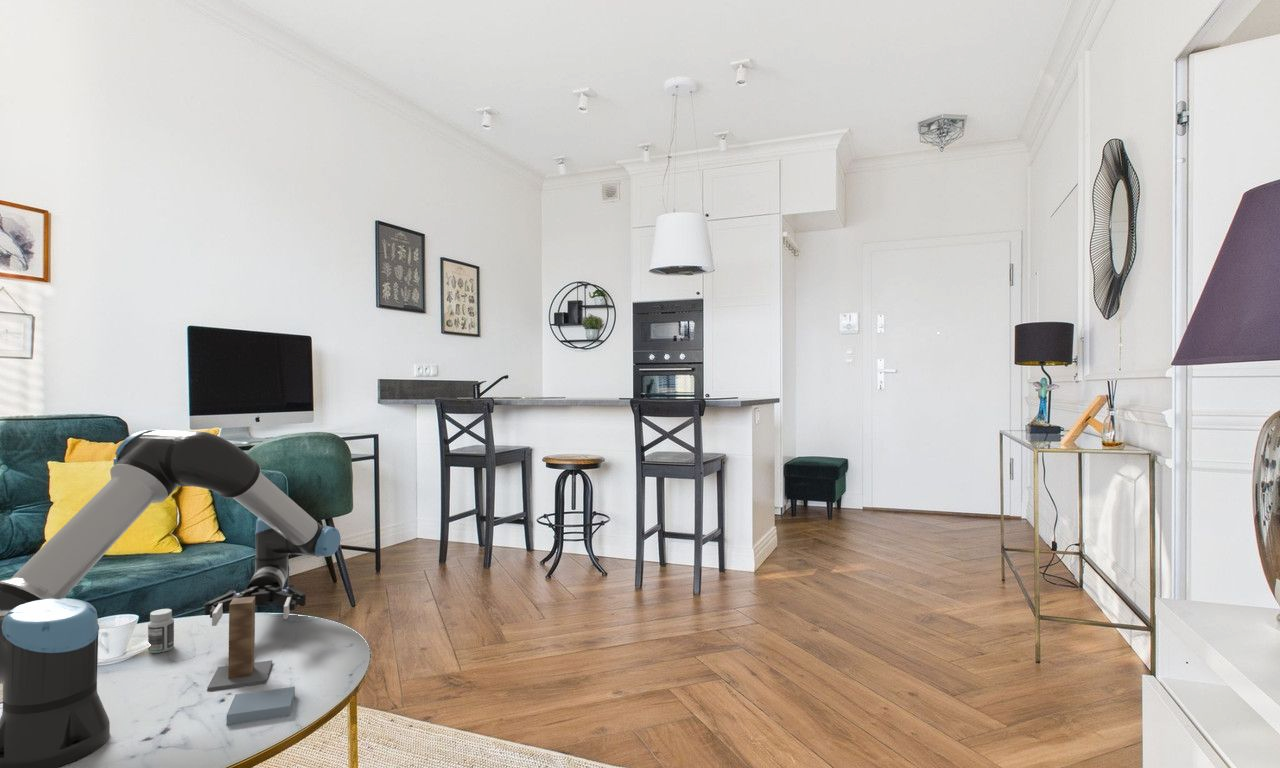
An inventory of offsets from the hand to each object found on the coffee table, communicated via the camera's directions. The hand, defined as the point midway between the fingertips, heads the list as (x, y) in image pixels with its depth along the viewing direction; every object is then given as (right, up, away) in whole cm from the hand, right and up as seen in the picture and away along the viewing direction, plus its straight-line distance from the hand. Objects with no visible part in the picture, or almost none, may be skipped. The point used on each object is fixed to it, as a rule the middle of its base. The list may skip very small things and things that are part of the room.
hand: (250, 616), depth 146 cm
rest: (+3, -9, -8) cm, 13 cm away
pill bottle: (-22, -9, +4) cm, 24 cm away
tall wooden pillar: (+3, -9, -8) cm, 13 cm away
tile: (+13, -9, -18) cm, 24 cm away
